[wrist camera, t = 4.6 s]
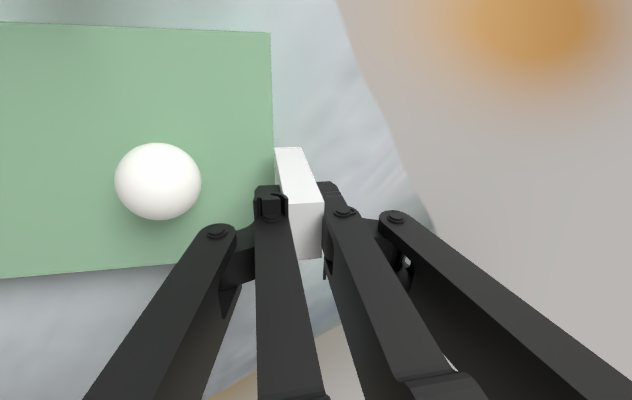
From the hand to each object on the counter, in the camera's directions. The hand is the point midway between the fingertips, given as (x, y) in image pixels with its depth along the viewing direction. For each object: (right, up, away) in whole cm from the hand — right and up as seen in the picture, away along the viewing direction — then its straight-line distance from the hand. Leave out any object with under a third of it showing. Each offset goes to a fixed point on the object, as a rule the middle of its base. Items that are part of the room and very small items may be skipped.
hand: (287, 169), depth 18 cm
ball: (-6, -1, -2) cm, 7 cm away
